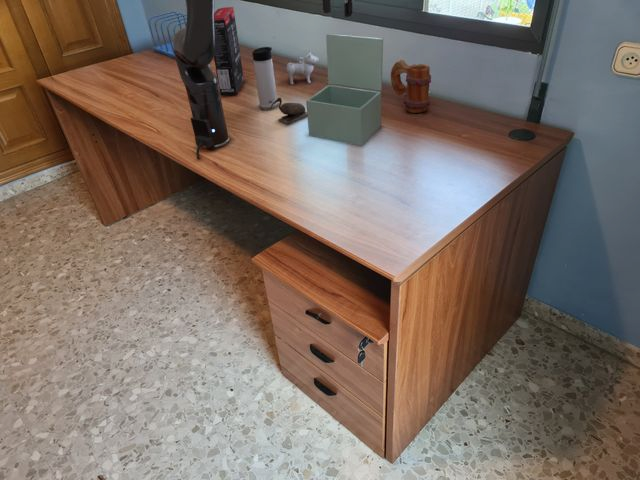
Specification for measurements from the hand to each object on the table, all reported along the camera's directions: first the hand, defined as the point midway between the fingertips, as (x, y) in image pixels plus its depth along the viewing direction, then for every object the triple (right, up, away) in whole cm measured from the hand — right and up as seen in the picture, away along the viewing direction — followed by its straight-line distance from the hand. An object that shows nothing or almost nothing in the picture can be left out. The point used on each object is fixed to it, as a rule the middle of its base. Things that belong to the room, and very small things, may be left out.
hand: (337, 14), depth 138 cm
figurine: (-15, -26, +19) cm, 36 cm away
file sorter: (-71, +25, +91) cm, 118 cm away
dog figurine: (-12, -4, +47) cm, 49 cm away
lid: (+5, -13, +3) cm, 14 cm away
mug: (+25, -22, +20) cm, 39 cm away
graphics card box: (-39, -7, +46) cm, 61 cm away
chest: (+3, -32, +10) cm, 33 cm away
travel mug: (-23, -19, +29) cm, 42 cm away
